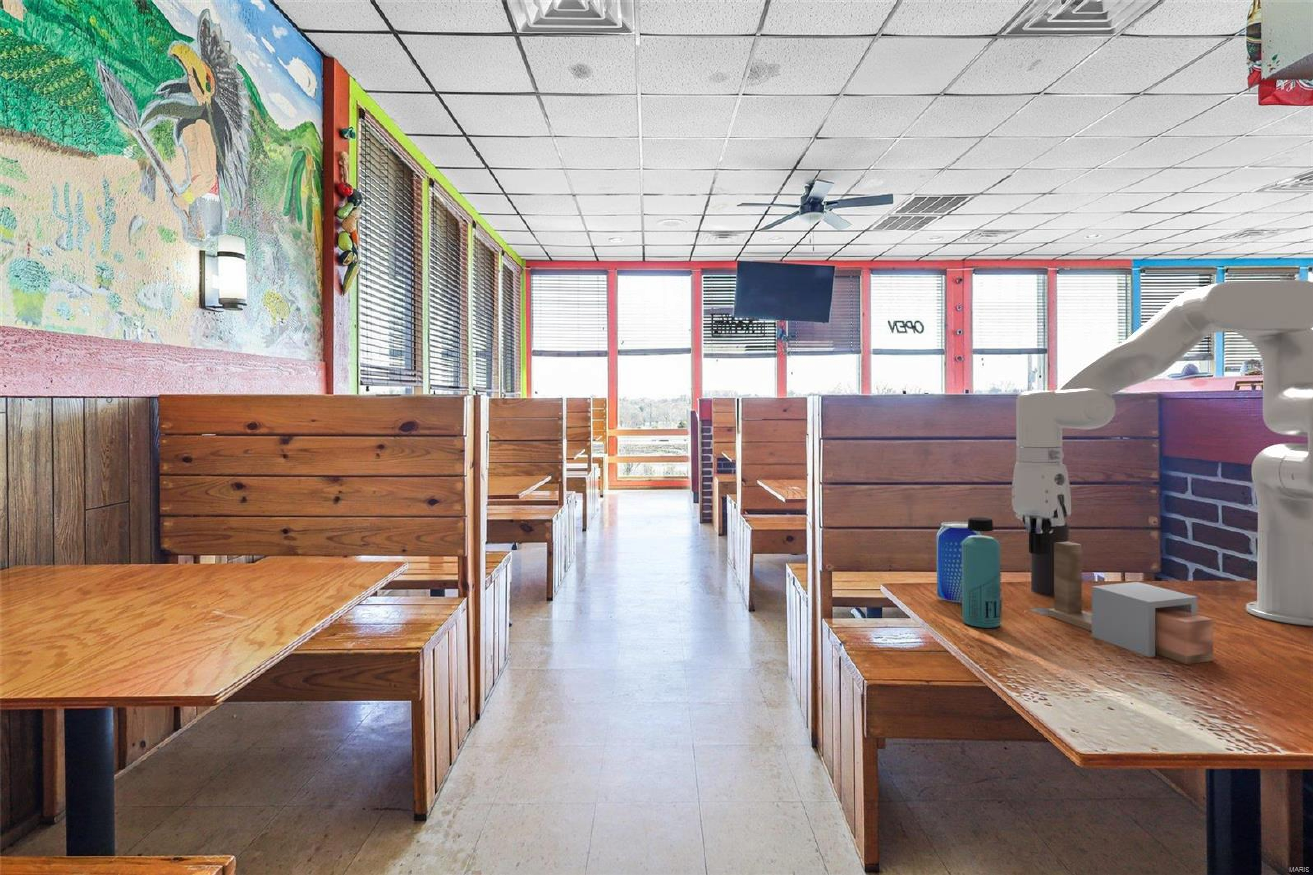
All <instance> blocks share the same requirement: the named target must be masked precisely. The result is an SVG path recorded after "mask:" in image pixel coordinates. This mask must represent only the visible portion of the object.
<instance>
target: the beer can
mask: <svg viewBox="0 0 1313 875" xmlns="http://www.w3.org/2000/svg"><path fill="white" fill-rule="evenodd" d="M940 524H941V526H940V528H939V530H938V531H937V533H936V596H937V598H939V599H940V601H942V600H944V601H947V602H953V603H962V595H961V594H962V545H961V543H962V541H963V540H964V539H965V538H967V537H968V536H972V535H981V536H983V535H982V534H981V531H972V530H968V521H967V522H965V521H945V522H942V523H940Z"/></svg>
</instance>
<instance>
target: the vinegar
mask: <svg viewBox="0 0 1313 875" xmlns="http://www.w3.org/2000/svg"><path fill="white" fill-rule="evenodd" d="M1044 522H1045V521H1044ZM1055 542H1070V525H1069V524H1068V523H1067V522H1066V521H1065V525H1063V526H1055V527H1054V528H1053V531H1052V533H1050V552H1049V554H1040V555H1036V554H1032V553H1030V592H1033V593H1035V594H1039V595H1044V596H1049V597H1050V596H1052V597H1054V543H1055Z"/></svg>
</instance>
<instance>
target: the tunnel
mask: <svg viewBox="0 0 1313 875" xmlns="http://www.w3.org/2000/svg"><path fill="white" fill-rule="evenodd" d="M1198 601H1199V600H1198V596H1195V595H1190V594H1187V593H1183V592H1179V591H1176V590H1171V589H1167V588H1163V587H1160V586H1155V585H1151V584H1147V583H1144V582H1140V581H1132V582H1123V583H1113V584H1112V583H1111V584H1102V585H1101V584H1100V585H1095V586H1094V585H1093V586H1091V614H1092V631H1091V638H1095V639H1098V640H1100V641H1103V642H1107V643H1109V644H1112V645H1114V646H1118V647H1120V648H1123V649H1125V650H1129V651H1130V652H1134V653H1136V654H1139V655H1142V656H1145V657H1148V658H1150V657H1155V656H1156V653H1155V608H1160V607H1171V608H1175V609H1178V610H1182V611H1185V612H1189V613H1193V614H1196V615H1198V609H1199V608H1198V606H1199V605H1198Z"/></svg>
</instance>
